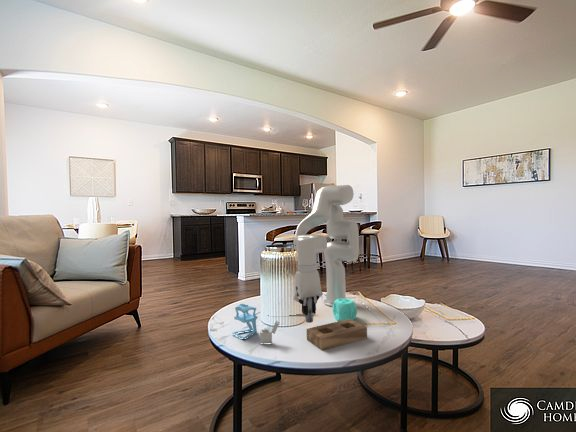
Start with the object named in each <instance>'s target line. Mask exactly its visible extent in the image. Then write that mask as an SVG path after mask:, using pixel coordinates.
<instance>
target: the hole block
mask: <svg viewBox="0 0 576 432" xmlns="http://www.w3.org/2000/svg"><path fill="white" fill-rule="evenodd" d="M367 338H368V327H367V326H366V325H364V324H361V323H359V322H357V321H356V320H351V319H347V320H343V321H335V322H331V323H326V324H321V325H317V326H314V327H309V328H306V340H307V341H308V342H309V343H311V344H312V345H314V347H316V348H318V349H320V350H321V351H325V350H327V349H331V348H335V347H339V346H342V345H346V344H350V343H353V342H357V341H360V340H364V339H367Z"/></svg>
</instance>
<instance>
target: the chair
mask: <svg viewBox="0 0 576 432" xmlns="http://www.w3.org/2000/svg"><path fill="white" fill-rule="evenodd" d="M234 309H235V312H236V313H235V314H236V316H233V317H234V320H236V321H239V322H241V323H244V324H245V323H246V325H247V329H243V330H238V331H233V332H232V333H231V335H232V334H235V335H237V336H238V337H240V338H243V339H245V338H247V337H249V336H251V335H252V334H254V333H255V332H257V333H258V330H257V319H258V315H256V310H257V307H256V306H255V307H253V306H250V305H249V304H245V303H240V304H238V305H236V306H235V307H234ZM249 311H253V312H252V313H249ZM239 312H241V313H242V314H239ZM251 324H252V325H251ZM251 330H253V331H252V332H248V334H246V335H245V336H241V334H236V333H238V332H245V331H251ZM255 334H256V333H255ZM255 334H254V335H255ZM252 336H253V335H252ZM252 336H251V337H252ZM249 338H250V337H249Z"/></svg>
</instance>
